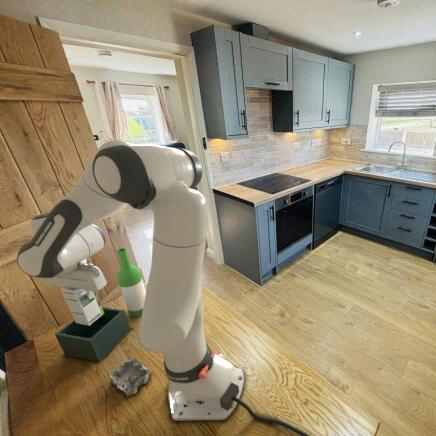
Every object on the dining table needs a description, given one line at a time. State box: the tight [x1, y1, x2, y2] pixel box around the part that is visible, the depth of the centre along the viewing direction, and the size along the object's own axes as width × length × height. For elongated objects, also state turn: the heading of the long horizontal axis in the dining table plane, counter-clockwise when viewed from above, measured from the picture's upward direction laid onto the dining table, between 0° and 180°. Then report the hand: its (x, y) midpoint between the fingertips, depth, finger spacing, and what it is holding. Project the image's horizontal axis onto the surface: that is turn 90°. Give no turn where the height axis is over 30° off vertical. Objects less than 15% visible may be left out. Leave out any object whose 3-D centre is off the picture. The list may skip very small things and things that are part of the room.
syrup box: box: [60, 287, 104, 326], centre depth 80 cm, size 6×6×14 cm
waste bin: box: [54, 306, 132, 363], centre depth 85 cm, size 14×14×10 cm
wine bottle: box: [116, 247, 147, 317], centre depth 95 cm, size 8×8×30 cm
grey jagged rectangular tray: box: [107, 357, 150, 397], centre depth 74 cm, size 11×8×4 cm
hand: (81, 296), depth 79 cm, fingers closed on syrup box, 6 cm apart
